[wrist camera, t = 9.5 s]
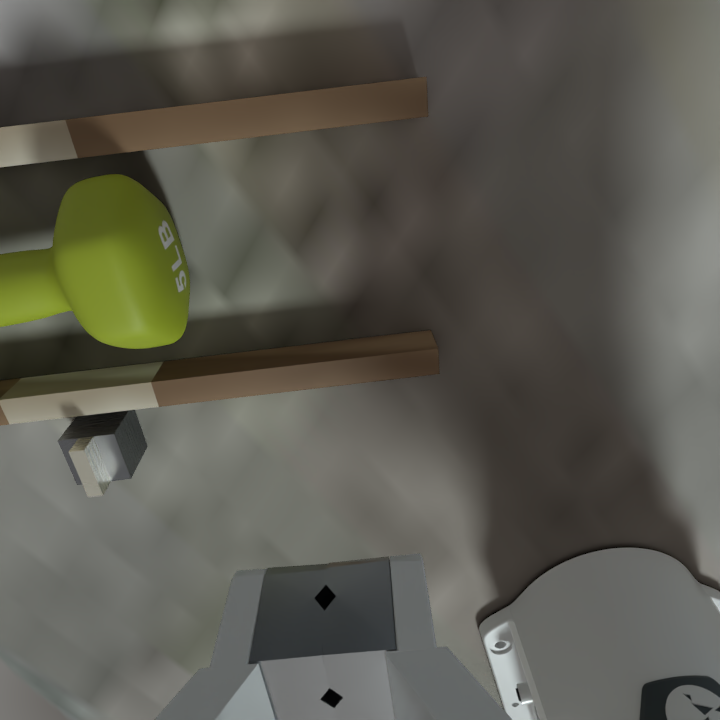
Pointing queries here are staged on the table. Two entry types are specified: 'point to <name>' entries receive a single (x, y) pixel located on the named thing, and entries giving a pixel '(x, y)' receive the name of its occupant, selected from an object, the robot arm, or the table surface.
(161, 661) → the table surface
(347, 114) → the beam slot
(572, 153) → the table surface
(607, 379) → the table surface
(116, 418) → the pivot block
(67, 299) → the dumbbell
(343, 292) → the table surface
